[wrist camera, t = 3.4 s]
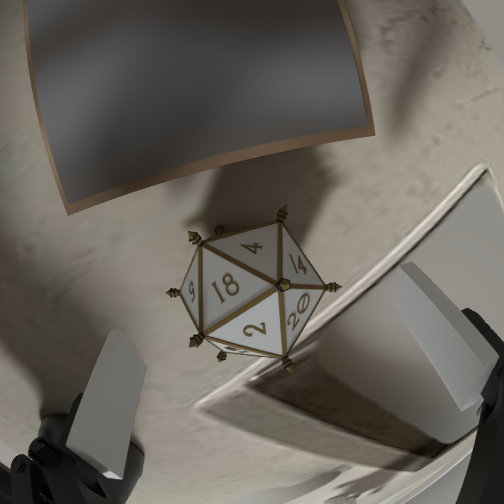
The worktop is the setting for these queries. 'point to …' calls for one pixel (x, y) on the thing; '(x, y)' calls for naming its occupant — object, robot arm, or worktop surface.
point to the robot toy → (341, 500)
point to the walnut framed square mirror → (186, 86)
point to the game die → (251, 290)
